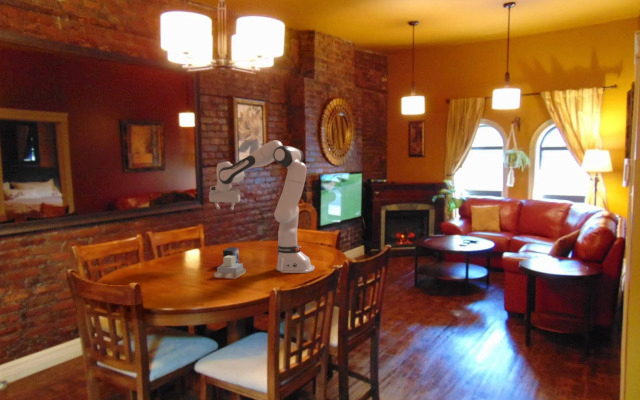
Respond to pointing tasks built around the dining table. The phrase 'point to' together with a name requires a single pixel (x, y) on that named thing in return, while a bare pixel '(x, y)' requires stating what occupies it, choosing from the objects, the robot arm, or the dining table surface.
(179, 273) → the dining table surface
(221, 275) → the bottom slab
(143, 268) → the dining table surface
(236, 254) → the small box
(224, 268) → the top slab
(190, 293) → the dining table surface
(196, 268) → the dining table surface
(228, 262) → the beige block
